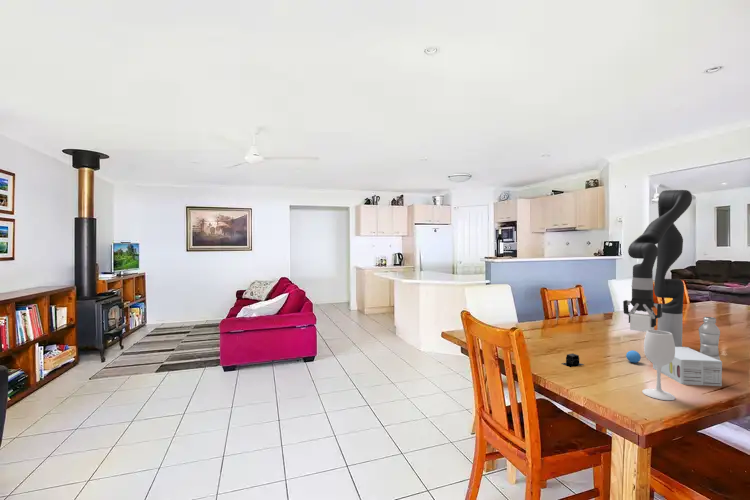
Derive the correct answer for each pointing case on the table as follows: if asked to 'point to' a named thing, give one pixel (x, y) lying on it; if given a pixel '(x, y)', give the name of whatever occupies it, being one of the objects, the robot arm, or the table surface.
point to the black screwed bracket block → (572, 360)
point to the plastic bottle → (709, 337)
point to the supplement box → (693, 368)
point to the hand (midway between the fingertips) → (642, 325)
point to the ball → (633, 356)
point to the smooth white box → (640, 322)
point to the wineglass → (659, 358)
